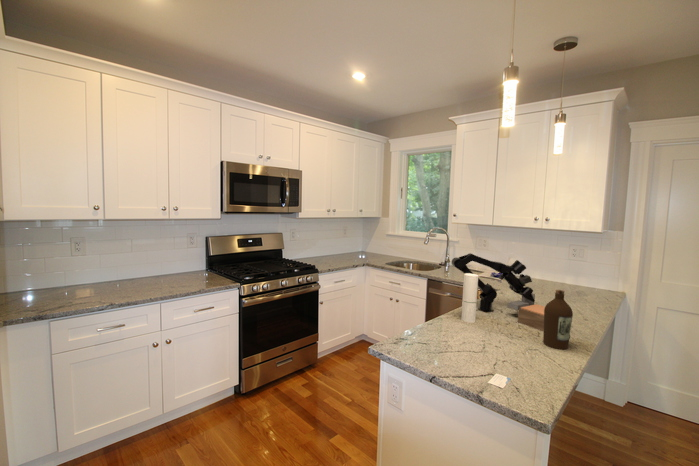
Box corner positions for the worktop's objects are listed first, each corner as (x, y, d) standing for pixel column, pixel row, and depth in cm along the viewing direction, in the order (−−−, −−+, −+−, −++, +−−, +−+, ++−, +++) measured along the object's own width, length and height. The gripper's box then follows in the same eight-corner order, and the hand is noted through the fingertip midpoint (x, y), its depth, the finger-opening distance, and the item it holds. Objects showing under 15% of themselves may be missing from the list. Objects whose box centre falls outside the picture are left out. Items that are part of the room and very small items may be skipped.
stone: (534, 305, 185) (535, 294, 184) (525, 305, 185) (526, 293, 185) (529, 303, 190) (530, 291, 189) (521, 303, 190) (522, 291, 190)
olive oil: (536, 341, 147) (540, 287, 145) (555, 339, 149) (559, 287, 147) (555, 351, 136) (560, 294, 134) (575, 349, 139) (580, 293, 137)
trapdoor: (547, 321, 159) (547, 315, 159) (505, 307, 179) (505, 302, 179) (562, 317, 166) (563, 311, 166) (520, 304, 186) (521, 299, 186)
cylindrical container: (475, 319, 173) (478, 274, 171) (474, 323, 167) (478, 276, 165) (461, 317, 176) (464, 272, 174) (460, 321, 170) (463, 275, 168)
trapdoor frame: (544, 331, 159) (545, 316, 158) (517, 322, 171) (518, 308, 170) (563, 326, 167) (564, 312, 167) (537, 317, 180) (538, 304, 179)
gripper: (530, 274, 177) (549, 294, 177) (515, 267, 196) (533, 286, 196) (515, 287, 178) (534, 307, 178) (501, 279, 197) (519, 298, 197)
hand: (530, 299), depth 187 cm, fingers open, 9 cm apart
